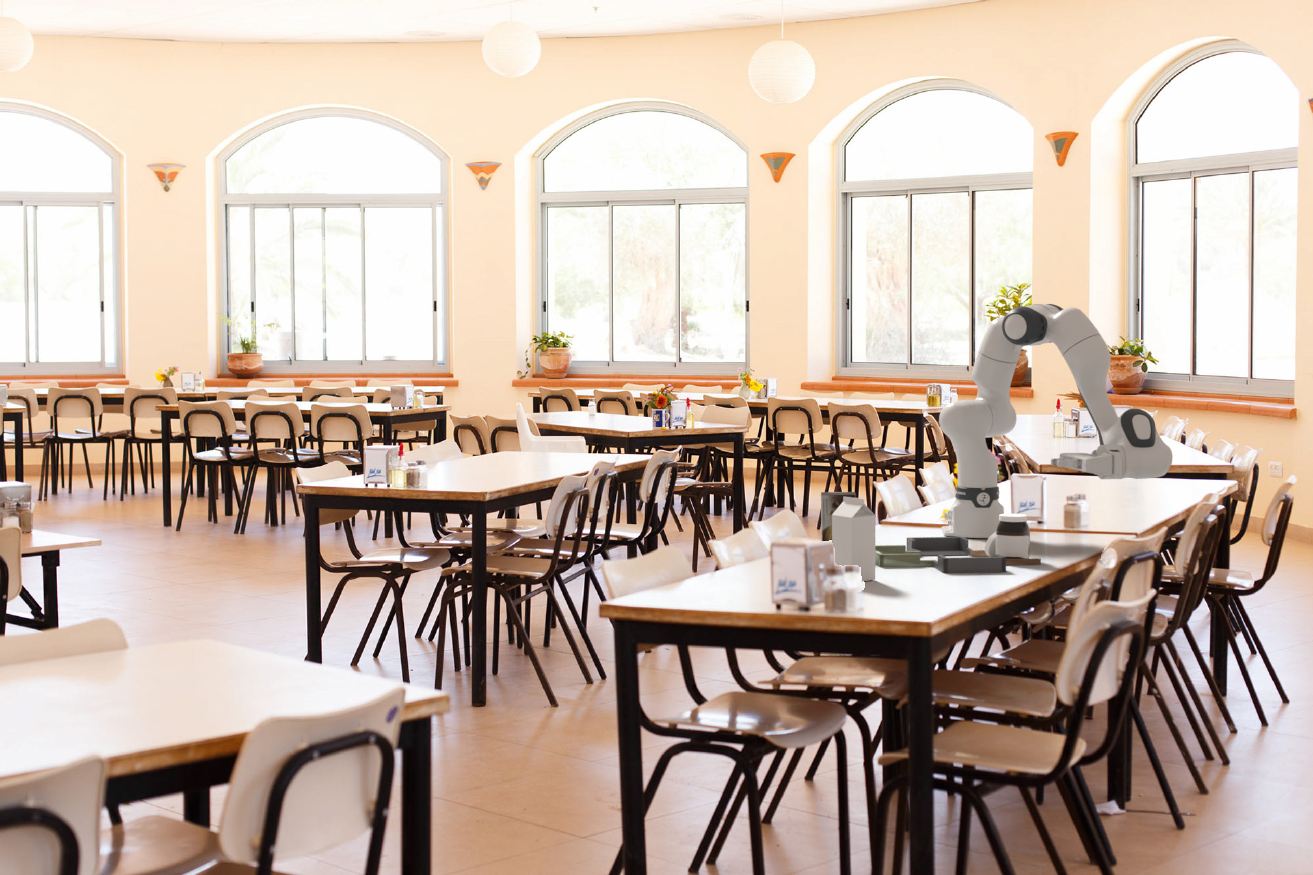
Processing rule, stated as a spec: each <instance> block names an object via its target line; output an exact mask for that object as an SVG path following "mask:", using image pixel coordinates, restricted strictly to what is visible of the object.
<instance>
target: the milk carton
mask: <svg viewBox="0 0 1313 875" xmlns="http://www.w3.org/2000/svg"><path fill="white" fill-rule="evenodd" d="M832 543H833V546H834V548H835V563H836V564H837V565H842V566H844V565H858V566H859V567H861V576H862V581H861V582H868V581H874V580H876V564H875V546H876V514H874V512H873V511H872V510H871V509H870V508H869V507H868V506H867V505H866V504H865V499H864V498H860V497H856V498H852V497H843V502H842V503H841V505H840V506H839V507H838V508H837V509H836V510H835V512H834V513H833V514H832Z"/></svg>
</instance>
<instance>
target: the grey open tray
mask: <svg viewBox="0 0 1313 875" xmlns="http://www.w3.org/2000/svg"><path fill="white" fill-rule="evenodd" d="M970 550H973V549H972V548H970V547H969V539H968V538H967V537H957V536H938V537H937V536H934V537H933V536H932V537H927V536H926V537H925V536H924V537H921V536H920V537H906V551H921V557H938V555H943V556H944V557H953V556H954V557H957V556H958V557H961V556H962V557H963V556H966V557H971V556H970Z"/></svg>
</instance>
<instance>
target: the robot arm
mask: <svg viewBox="0 0 1313 875" xmlns="http://www.w3.org/2000/svg"><path fill="white" fill-rule="evenodd" d="M1048 343H1051V344H1052V343H1053V344H1055V346H1056V347H1057V349H1058V350H1059V352H1060V354H1061V356H1062V357H1063V359H1064V361H1065V362H1066V364H1067V366H1068V368H1069V370H1070V371H1071V374H1072V376H1073V378H1074V381H1075V384H1076V386H1077V389H1078V392H1079V395H1080V397H1081V400H1082V401H1083V404H1084V405H1085V408H1086V410H1087V412H1088V414H1089V416H1090V418H1091V420H1092V422H1093V424H1094V427H1095V428H1096V431H1097V434H1098V438H1099V439H1098V440H1099V445H1098V447H1097V448H1096V449H1095V450H1093V451H1092V452H1091V453H1088V452H1061V453H1060V454H1059V457H1058V458H1056V457H1055V458H1051V459H1050V465H1051V466H1052V467H1053V466H1055V467H1059V468H1065V469H1066V468H1067V469H1070V470H1074V471H1078V472H1079V471H1080V472H1084V473H1089V474H1093V475H1094V476H1097V477H1098V478H1099V479H1100V480H1122V479H1126V478H1127V479H1128V478H1131V479H1133V480H1135V479H1136V480H1144V479H1145V480H1147V479H1154V478H1160V477H1163V476H1165V475H1166V474H1167V473H1168V472H1169V470H1170V469H1171V466H1172V464H1173V451H1172V449H1171V448H1170V446H1169V445H1167V444H1166V443H1165V441H1163V438H1162V437H1161V435H1160V434H1159V432H1158V430H1157V426H1156V423H1155V420H1154V418H1153V417H1152V415H1151V414H1149V412H1147V411H1146V410H1143V409H1140V408H1129V409H1127V410H1125V411H1124V412H1123V413H1122V414H1121V415H1119V416H1118V414H1117V411H1116V410H1115V407H1114V406H1113V404H1112V402H1111V400H1110V398H1109V395H1108V393H1107V380H1108V379H1107V378H1108V373H1109V370H1110V366H1111V363H1112V362H1111V360H1112V356H1111V353H1110V349H1109V347H1108V345H1107V343H1106V341H1105V340H1104V338H1103V336H1102V334H1100V332H1099V330H1098V328H1097V327H1096V326H1095V324H1094V323H1093V322H1092V321H1091V319H1089V317H1088V316H1087V315H1086V314H1085V312H1083V311H1082V310H1081V309H1080V308H1078V307H1067V308H1063V307H1061V306H1059V305H1056V304H1053V303H1035V304H1031V305H1026V306H1025V305H1024V306H1018V307H1015V308H1013V309H1010V310H1009V311H1008V312H1007V313H1006V314H1005V316H1001V317H997V318H993V320H992V321H991V322H990V324H989V326H988V328H987V329H986V332H985V333H984V336H983V338H982V341H981V343H980V346H979V350H978V352H977V354H976V358H975V361H974V364H973V368H972V372H971V378H972V381H973V383H975V385H976V386H977V394H976V398H975V399H964V400H956V401H954V402H953V401H952V402H951V403H948V404H945V405H944V406H943V407H942V409H941V410H940V413H939V418H938V423H939V426H940V430H941V431H942V432H943V434H945V435H946V437H947V438H948V439H949V441H950V442H951V444H952V446H953V449H954V453H955V456H956V462H957V463H956V464H957V486H956V487H955V496H954V498H955V500H954V502H953V504H952V506H951V507H950V508H949V509H948V511H945V512H944V520H945V521H948V523H947V524H948V525H945V526H944V525H943V526H941V528H940V529H941V531H942V534H943V536H944V537H964V538H966V539H968V538H970V539H988V538H989V537H990V536H991V535H992V534H993V533H995V532H996V530H997V526H998V524H999V522H1000V520H999V515H1000V514H1005V507H1004V506H1003V504H1001V503H1000V502H999V498H1000V488H999V486H998V460H997V457H996V456H995V455H994V454H993V453H991V452H990V449H989V448H988V446H987V445H988V444H987V442H986V438H988V439H989V438H997V437H1001V436H1004V435H1007V434H1009V433H1010V432H1011V431H1013V430H1014V428H1015V426H1016V423H1017V413H1016V409H1015V408H1014V406H1013V405H1012V402H1011V398H1010V394H1011V393H1010V391H1011V384H1012V380H1013V377H1014V374H1015V370H1016V369H1017V368H1016V367H1017V364H1018V361H1019V359H1020V358H1019V357H1020V356H1021V355H1020V354H1021V351H1022V349H1023V348H1024V347H1025V346H1041V345H1044V344H1048Z"/></svg>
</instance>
